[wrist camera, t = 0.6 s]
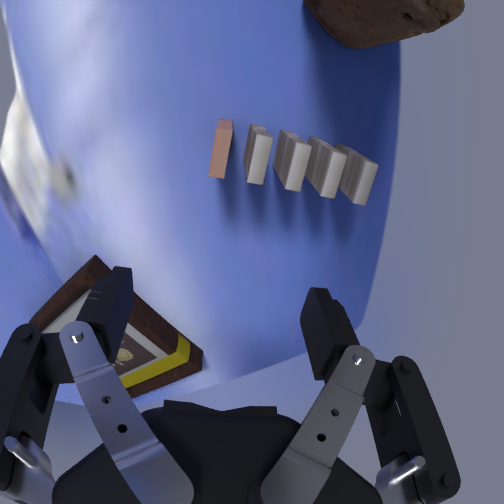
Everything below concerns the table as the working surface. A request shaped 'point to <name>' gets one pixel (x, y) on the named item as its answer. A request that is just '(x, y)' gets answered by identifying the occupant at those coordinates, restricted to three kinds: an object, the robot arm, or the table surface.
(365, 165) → the domino
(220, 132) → the domino
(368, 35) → the block
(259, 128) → the domino
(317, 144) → the domino
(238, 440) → the robot arm
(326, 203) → the table surface
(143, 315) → the picture frame
